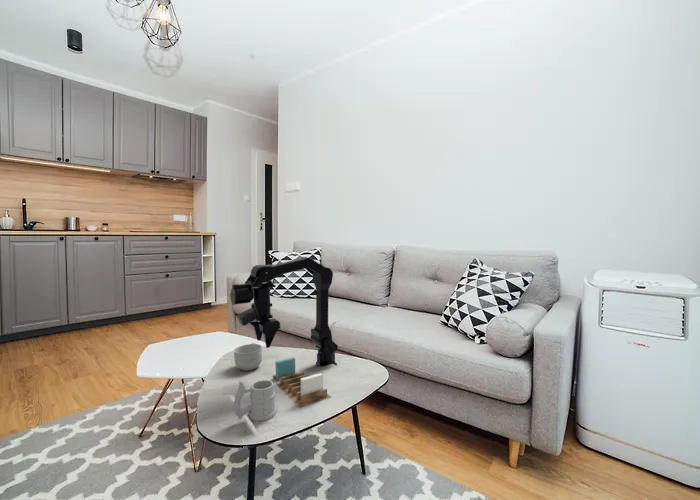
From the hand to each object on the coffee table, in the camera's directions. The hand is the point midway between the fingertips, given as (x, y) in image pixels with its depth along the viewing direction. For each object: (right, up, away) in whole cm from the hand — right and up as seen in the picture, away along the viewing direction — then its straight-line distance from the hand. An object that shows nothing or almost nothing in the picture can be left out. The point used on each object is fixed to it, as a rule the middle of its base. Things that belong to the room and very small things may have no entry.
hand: (263, 343), depth 121 cm
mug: (+4, -15, -24) cm, 28 cm away
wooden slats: (+7, -14, +3) cm, 16 cm away
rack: (+15, -14, -9) cm, 23 cm away
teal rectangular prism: (+7, -14, +3) cm, 16 cm away
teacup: (-9, -13, +15) cm, 22 cm away
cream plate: (+19, -13, -14) cm, 27 cm away
